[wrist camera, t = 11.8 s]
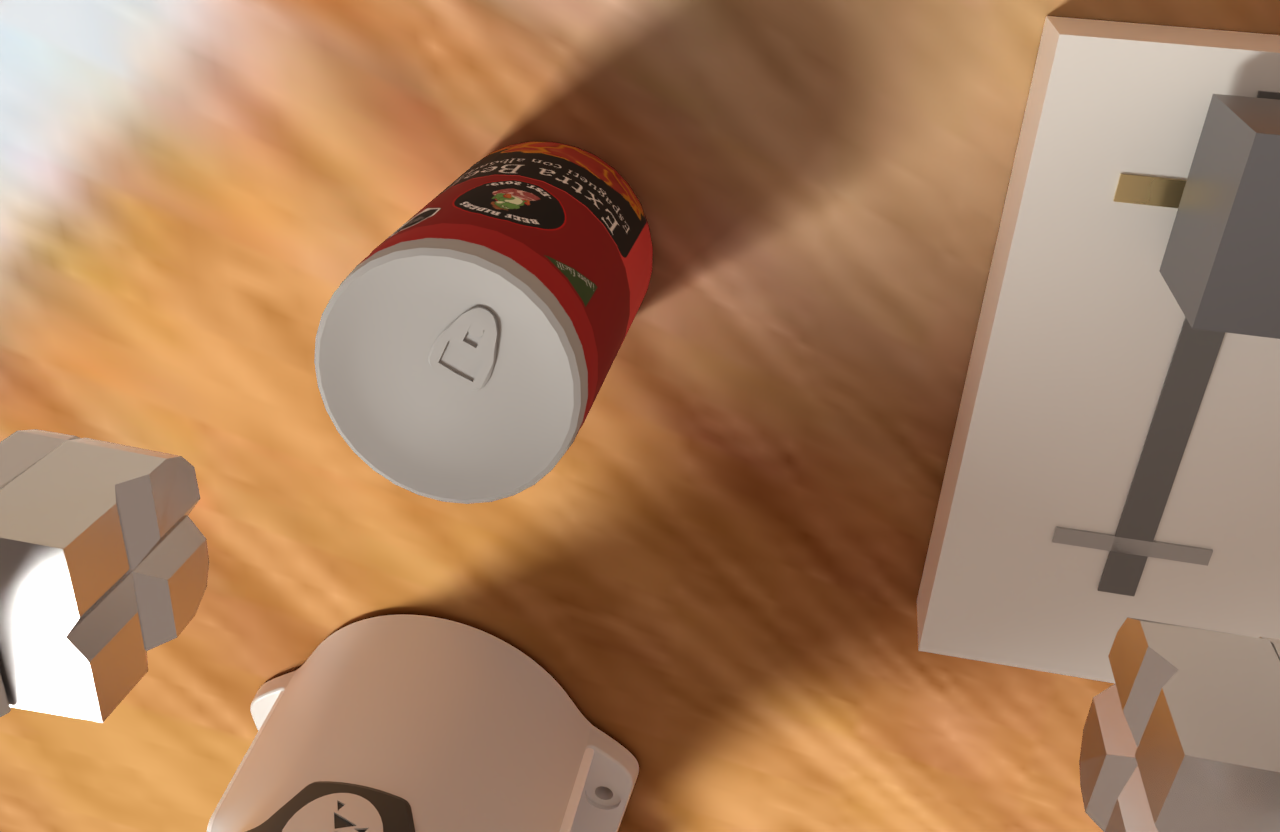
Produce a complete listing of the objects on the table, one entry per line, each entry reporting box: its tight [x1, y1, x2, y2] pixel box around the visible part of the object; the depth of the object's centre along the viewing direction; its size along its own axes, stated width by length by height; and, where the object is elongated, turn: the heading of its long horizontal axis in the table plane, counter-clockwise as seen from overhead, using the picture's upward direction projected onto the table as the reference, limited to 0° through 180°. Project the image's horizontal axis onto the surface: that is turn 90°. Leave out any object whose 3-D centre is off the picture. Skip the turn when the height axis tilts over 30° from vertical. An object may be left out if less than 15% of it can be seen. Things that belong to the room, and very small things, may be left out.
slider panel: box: [917, 16, 1280, 683], centre depth 36 cm, size 22×12×3 cm, turn 177°
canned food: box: [314, 142, 653, 504], centre depth 34 cm, size 8×8×11 cm
